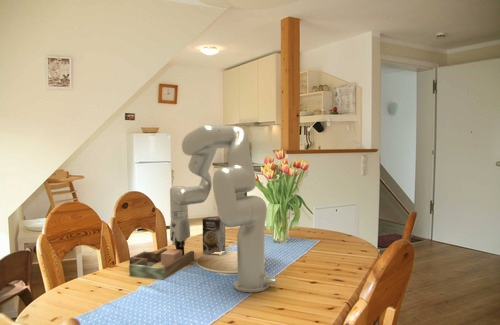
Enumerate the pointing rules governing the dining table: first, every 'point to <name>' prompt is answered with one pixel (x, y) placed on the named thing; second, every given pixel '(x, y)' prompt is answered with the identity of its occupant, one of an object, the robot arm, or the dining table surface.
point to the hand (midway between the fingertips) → (180, 255)
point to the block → (170, 256)
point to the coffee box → (213, 235)
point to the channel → (140, 262)
